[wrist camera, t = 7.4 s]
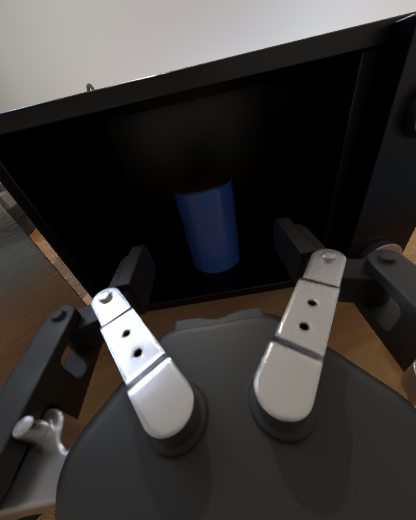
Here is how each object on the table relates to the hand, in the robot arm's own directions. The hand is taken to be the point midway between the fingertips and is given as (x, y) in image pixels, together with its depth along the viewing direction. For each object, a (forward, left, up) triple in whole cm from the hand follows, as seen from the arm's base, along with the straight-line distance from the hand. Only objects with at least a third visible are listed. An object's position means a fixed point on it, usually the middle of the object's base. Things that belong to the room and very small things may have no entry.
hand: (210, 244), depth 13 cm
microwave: (+12, +8, -10) cm, 18 cm away
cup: (+8, +7, -9) cm, 14 cm away
